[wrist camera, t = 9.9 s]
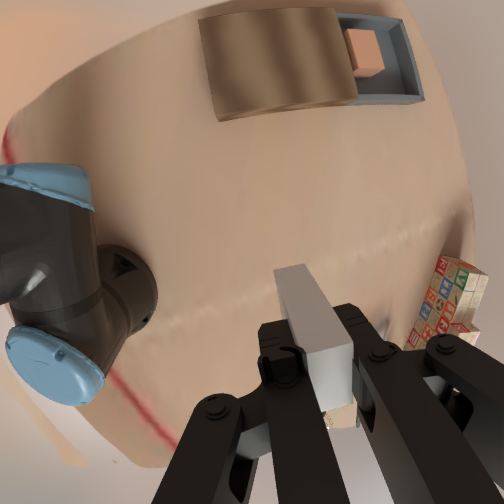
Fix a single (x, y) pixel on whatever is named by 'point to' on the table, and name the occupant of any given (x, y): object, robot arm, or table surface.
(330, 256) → the table surface
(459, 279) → the stack of blocks
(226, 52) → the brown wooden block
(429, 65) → the table surface
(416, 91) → the box
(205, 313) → the table surface
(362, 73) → the salmon orange block
